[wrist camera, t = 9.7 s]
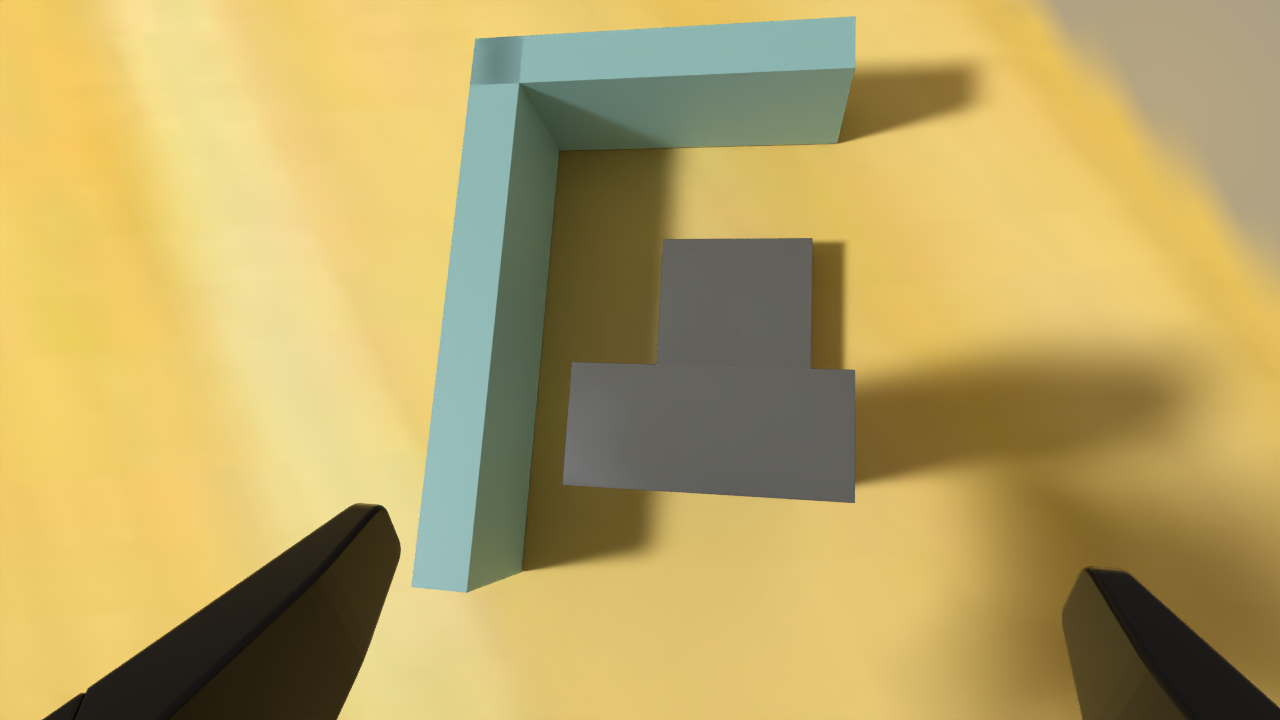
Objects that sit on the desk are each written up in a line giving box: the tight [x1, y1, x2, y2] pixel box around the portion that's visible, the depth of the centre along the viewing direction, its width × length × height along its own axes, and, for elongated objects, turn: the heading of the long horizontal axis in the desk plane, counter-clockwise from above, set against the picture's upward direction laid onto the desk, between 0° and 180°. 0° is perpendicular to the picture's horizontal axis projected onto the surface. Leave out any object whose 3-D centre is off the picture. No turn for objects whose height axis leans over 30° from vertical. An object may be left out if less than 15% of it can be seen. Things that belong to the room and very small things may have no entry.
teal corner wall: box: [411, 16, 856, 593], centre depth 19 cm, size 16×11×4 cm
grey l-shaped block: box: [562, 238, 855, 503], centre depth 16 cm, size 8×4×10 cm, turn 177°
